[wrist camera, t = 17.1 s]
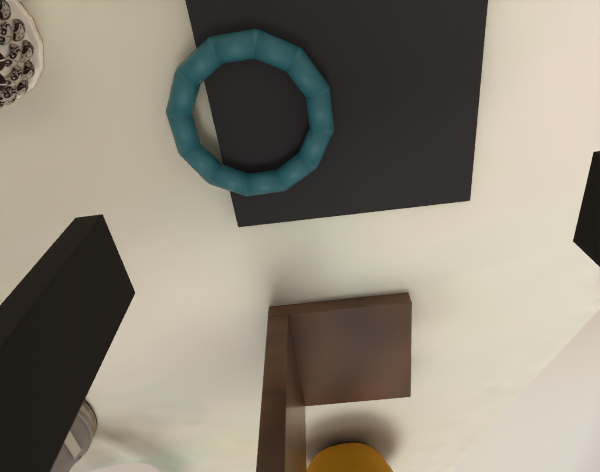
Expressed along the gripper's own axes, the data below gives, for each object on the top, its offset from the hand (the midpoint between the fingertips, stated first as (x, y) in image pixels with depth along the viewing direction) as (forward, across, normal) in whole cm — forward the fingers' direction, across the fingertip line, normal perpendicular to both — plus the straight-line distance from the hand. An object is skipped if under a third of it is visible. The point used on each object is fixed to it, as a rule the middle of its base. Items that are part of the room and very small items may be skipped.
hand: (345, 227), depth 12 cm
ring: (+22, -5, -3) cm, 22 cm away
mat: (+23, +2, -3) cm, 24 cm away
